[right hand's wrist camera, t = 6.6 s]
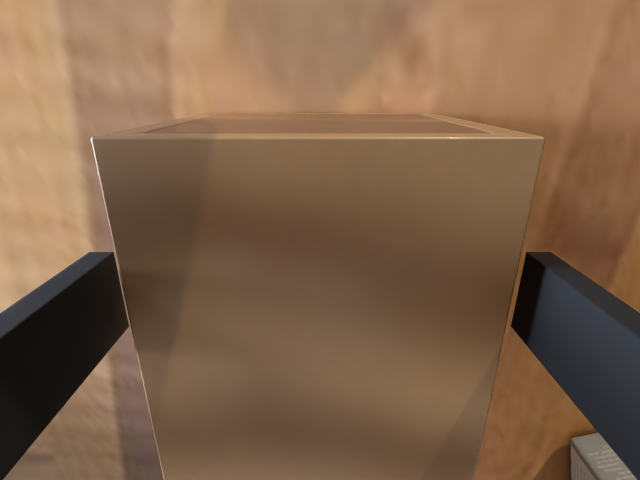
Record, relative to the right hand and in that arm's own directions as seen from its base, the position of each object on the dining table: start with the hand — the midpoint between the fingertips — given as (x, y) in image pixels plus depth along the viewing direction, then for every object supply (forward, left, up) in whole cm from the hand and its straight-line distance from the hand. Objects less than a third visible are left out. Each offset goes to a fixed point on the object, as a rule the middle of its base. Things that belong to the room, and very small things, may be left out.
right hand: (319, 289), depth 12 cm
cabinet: (+2, -5, -9) cm, 10 cm away
